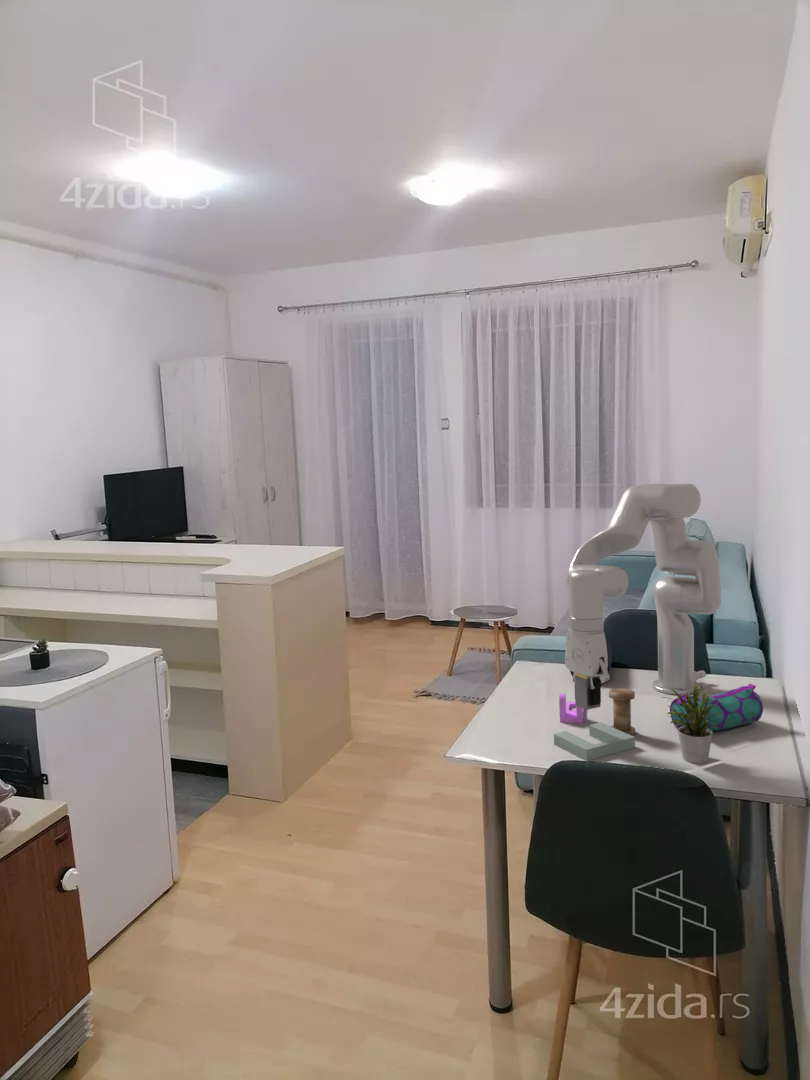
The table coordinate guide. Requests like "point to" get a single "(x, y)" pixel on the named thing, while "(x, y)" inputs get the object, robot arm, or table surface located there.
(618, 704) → the bobbin
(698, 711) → the house plant
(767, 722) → the table surface
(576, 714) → the bracket
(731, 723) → the pencil case
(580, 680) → the yellow and grey block
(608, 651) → the portable speaker
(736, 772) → the table surface
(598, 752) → the notched board
